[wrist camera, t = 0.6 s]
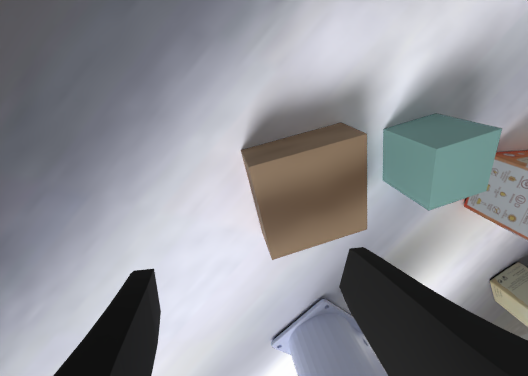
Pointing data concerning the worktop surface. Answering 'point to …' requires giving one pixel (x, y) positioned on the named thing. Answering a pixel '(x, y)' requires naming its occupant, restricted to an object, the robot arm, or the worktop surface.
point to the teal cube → (439, 158)
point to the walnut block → (309, 187)
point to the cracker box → (505, 193)
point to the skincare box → (513, 291)
